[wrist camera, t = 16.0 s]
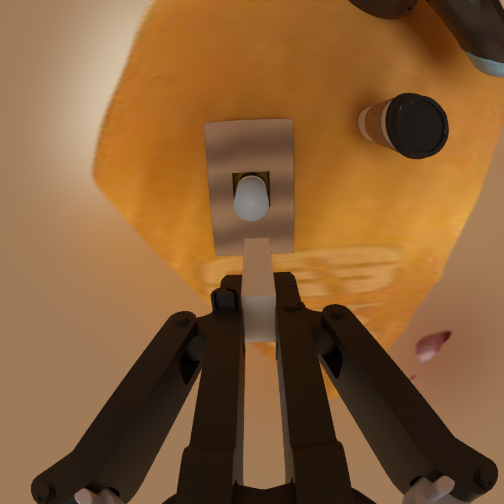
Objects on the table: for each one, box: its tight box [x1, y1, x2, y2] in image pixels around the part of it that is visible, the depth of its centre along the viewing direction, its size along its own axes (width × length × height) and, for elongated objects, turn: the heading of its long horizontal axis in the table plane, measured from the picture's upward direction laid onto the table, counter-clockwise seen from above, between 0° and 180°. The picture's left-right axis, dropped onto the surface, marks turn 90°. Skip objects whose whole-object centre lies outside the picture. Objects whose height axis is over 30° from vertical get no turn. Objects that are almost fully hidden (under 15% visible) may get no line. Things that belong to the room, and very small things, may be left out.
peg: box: [234, 172, 269, 221], centre depth 37 cm, size 4×4×12 cm
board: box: [204, 119, 294, 256], centre depth 41 cm, size 20×12×4 cm, turn 3°
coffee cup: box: [358, 93, 449, 159], centre depth 31 cm, size 8×8×15 cm
